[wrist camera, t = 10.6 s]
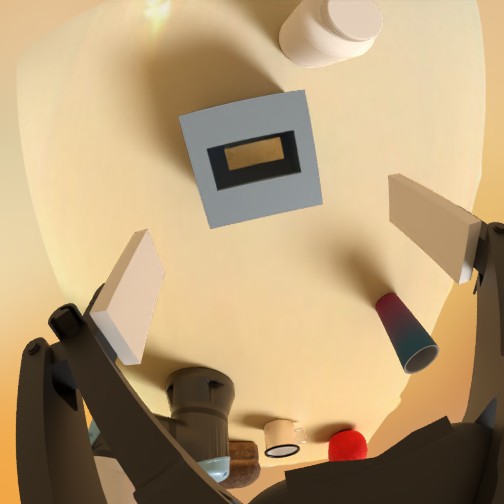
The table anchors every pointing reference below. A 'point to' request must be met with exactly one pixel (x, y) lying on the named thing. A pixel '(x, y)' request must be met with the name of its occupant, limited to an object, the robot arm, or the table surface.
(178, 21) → the table surface
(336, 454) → the tomato
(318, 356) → the table surface
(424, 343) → the cup
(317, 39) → the pill bottle
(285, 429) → the mug
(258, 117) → the grey hollow box
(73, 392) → the robot arm
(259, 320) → the table surface
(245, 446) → the bread
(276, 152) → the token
